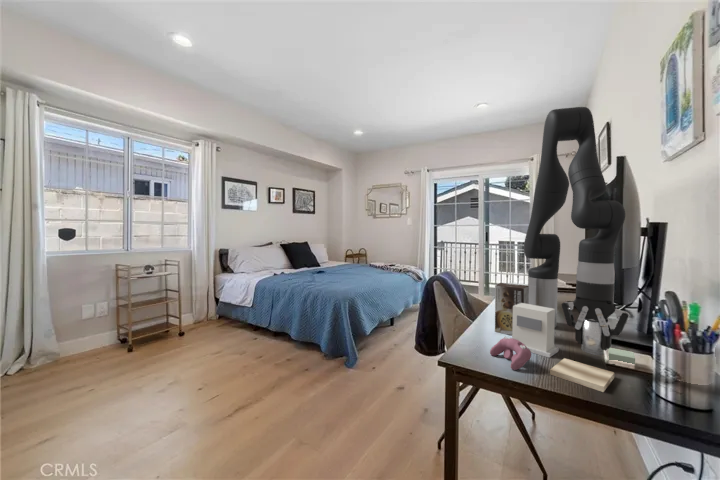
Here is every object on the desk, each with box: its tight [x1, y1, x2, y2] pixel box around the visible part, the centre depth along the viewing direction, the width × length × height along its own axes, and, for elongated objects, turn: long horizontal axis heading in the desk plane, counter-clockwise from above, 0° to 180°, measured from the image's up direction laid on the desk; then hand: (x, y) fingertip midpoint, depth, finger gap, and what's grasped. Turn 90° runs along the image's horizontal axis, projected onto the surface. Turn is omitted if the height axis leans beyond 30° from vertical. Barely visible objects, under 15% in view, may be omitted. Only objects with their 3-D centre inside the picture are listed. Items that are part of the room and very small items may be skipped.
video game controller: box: [489, 336, 532, 371], centre depth 77 cm, size 10×5×7 cm, turn 10°
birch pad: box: [549, 357, 615, 393], centre depth 69 cm, size 10×10×1 cm
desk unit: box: [511, 303, 560, 359], centre depth 86 cm, size 7×11×12 cm, turn 39°
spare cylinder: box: [581, 319, 605, 356], centre depth 75 cm, size 4×4×8 cm
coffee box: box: [494, 282, 529, 336], centre depth 99 cm, size 9×6×16 cm
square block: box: [607, 347, 636, 365], centre depth 76 cm, size 5×5×3 cm
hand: (592, 346), depth 75 cm, fingers closed on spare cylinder, 4 cm apart
